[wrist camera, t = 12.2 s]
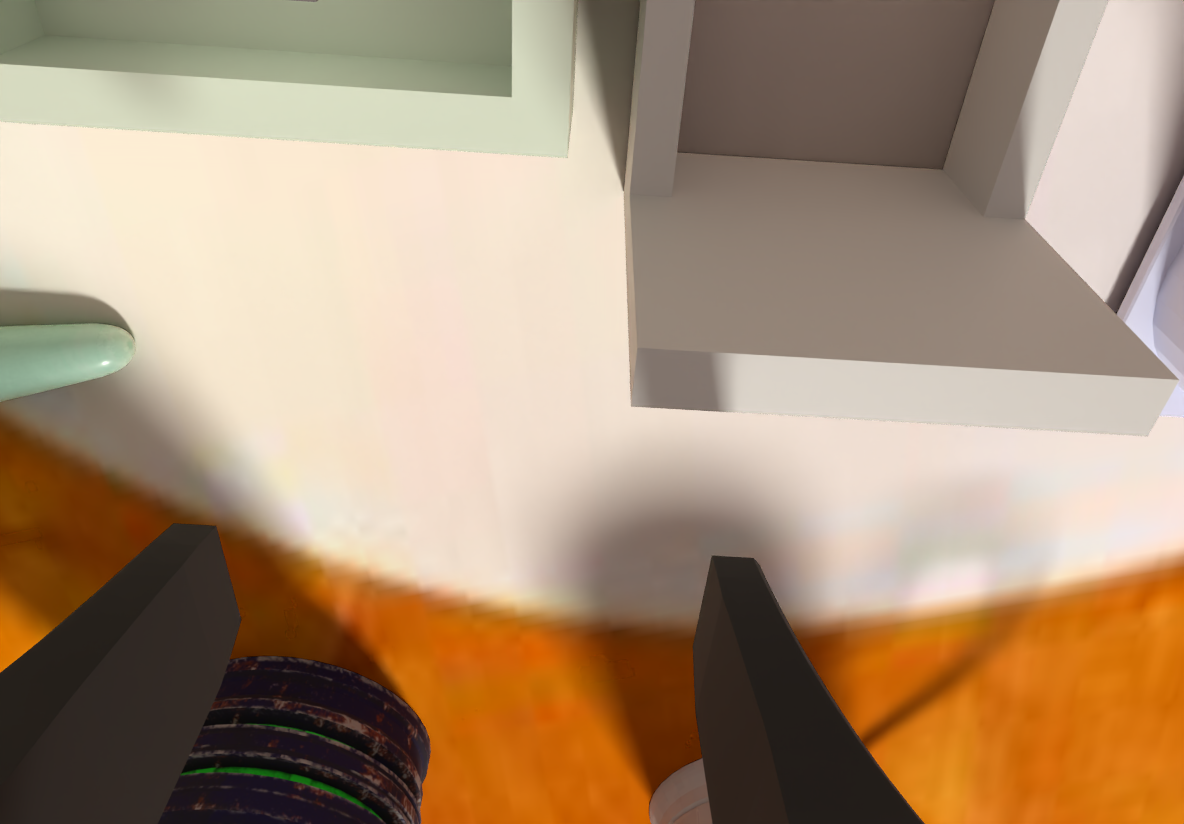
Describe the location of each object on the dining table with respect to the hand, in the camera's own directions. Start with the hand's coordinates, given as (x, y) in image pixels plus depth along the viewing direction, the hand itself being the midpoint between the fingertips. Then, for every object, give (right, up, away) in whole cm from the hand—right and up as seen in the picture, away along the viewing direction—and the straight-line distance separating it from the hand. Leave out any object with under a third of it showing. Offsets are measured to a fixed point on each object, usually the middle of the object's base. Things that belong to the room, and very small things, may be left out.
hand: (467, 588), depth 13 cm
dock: (+6, +9, +5) cm, 12 cm away
